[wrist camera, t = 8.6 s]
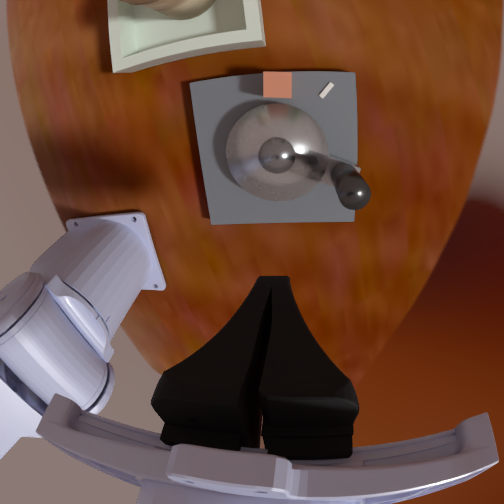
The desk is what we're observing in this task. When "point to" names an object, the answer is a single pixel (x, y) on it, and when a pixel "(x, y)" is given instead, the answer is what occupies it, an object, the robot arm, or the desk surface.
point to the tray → (180, 33)
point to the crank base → (257, 94)
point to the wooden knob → (176, 7)
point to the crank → (289, 157)
